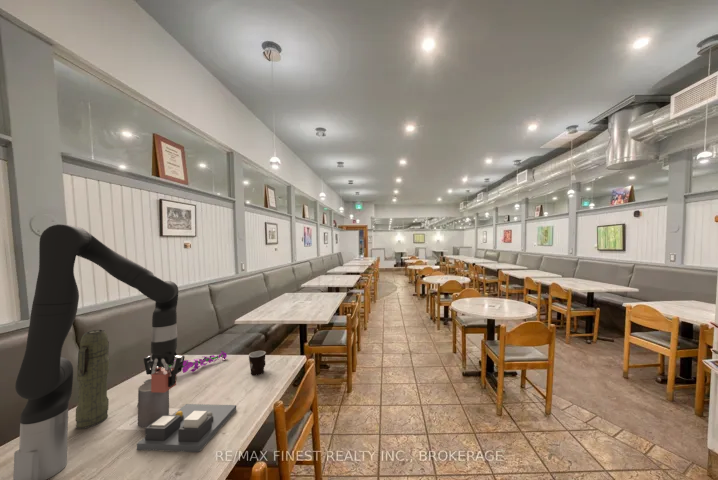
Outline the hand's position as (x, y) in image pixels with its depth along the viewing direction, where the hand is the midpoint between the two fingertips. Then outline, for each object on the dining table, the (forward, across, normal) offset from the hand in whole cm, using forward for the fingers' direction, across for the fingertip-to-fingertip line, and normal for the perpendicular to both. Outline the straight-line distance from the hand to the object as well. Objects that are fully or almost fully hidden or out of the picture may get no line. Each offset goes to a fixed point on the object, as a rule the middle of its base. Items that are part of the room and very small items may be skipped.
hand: (163, 385), depth 90 cm
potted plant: (+19, +28, -52) cm, 62 cm away
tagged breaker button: (+16, 0, 0) cm, 16 cm away
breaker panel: (+18, -6, -6) cm, 20 cm away
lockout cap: (+1, 0, 0) cm, 1 cm away
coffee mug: (+19, -11, -48) cm, 53 cm away
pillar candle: (+19, +13, -10) cm, 25 cm away
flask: (+19, +25, -20) cm, 37 cm away
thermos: (+19, +37, -8) cm, 42 cm away
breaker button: (+14, -12, 0) cm, 18 cm away
